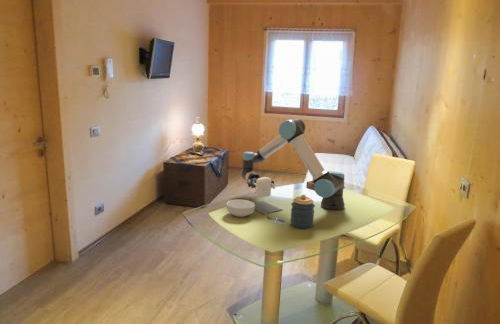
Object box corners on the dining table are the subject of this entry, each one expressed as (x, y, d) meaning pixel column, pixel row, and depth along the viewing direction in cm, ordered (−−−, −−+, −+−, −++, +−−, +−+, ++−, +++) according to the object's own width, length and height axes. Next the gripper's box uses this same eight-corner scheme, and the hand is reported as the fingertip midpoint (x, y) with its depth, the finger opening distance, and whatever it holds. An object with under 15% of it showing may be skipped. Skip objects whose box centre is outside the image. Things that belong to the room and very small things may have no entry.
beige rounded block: (267, 194, 246) (268, 175, 243) (271, 196, 243) (272, 177, 240) (254, 196, 240) (255, 177, 238) (258, 198, 237) (259, 179, 234)
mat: (282, 210, 239) (282, 209, 239) (263, 214, 231) (263, 213, 231) (262, 201, 255) (262, 200, 255) (244, 205, 246) (244, 204, 246)
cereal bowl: (235, 221, 218) (235, 209, 216) (221, 212, 232) (221, 201, 230) (260, 217, 227) (260, 205, 225) (245, 208, 240) (245, 197, 239)
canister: (290, 219, 224) (291, 190, 220) (312, 221, 223) (314, 192, 219) (290, 228, 211) (291, 197, 207) (313, 229, 210) (316, 198, 206)
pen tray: (343, 186, 299) (344, 181, 299) (320, 191, 284) (320, 186, 283) (330, 182, 311) (330, 177, 310) (306, 186, 295) (306, 181, 294)
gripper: (268, 182, 261) (282, 192, 241) (236, 184, 253) (248, 194, 233) (268, 171, 260) (283, 180, 239) (237, 173, 251) (249, 182, 231)
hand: (266, 187), depth 236 cm, fingers closed on beige rounded block, 10 cm apart
